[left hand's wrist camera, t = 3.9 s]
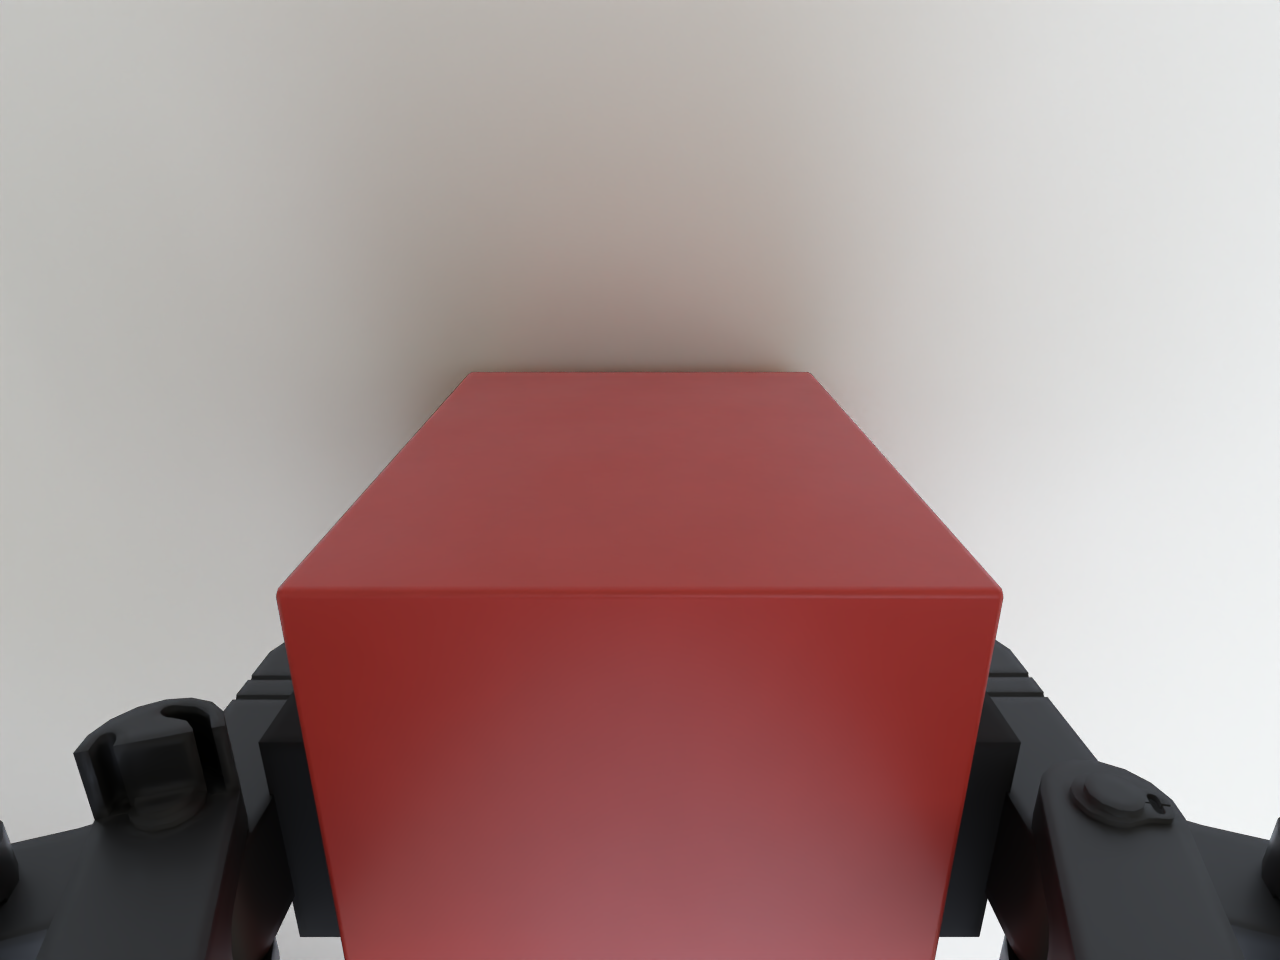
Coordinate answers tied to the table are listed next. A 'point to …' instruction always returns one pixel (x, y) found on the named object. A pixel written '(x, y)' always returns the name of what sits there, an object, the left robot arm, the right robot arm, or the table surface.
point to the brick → (639, 680)
